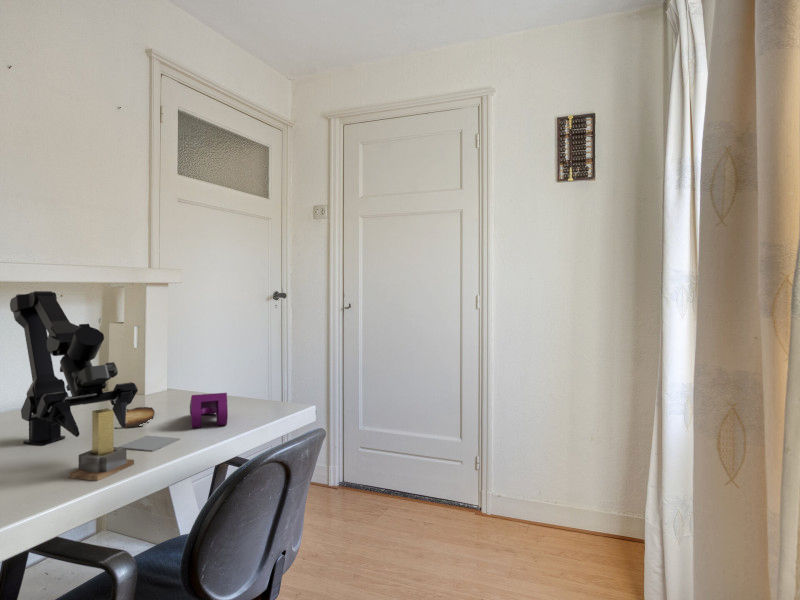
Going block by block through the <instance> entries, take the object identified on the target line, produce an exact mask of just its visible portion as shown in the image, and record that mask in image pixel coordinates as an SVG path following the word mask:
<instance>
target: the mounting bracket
mask: <svg viewBox="0 0 800 600" xmlns="http://www.w3.org/2000/svg"><path fill="white" fill-rule="evenodd" d="M215 413H216V414H215ZM228 413H229V410H228V393H227V392H218V393H204V394H192V395H191V397H190V403H189V415H190V427H191V428H190V429H199V428H200V427H202V416H205V414H209V415H216V416H215V417H216V425H217V426H218V427H219V426H220V425H221V426H227V425H228V415H229V414H228ZM200 429H201V428H200Z"/></svg>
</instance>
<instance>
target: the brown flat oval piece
mask: <svg viewBox="0 0 800 600" xmlns="http://www.w3.org/2000/svg"><path fill="white" fill-rule="evenodd" d="M154 415H155V410H154V408H153V407H152V406H151V407H148V406H141V407H140V406H139V407H133V408H131V409H130V408H129V409H128V408H126V424H125V427H123V429H125V428H127V429H129V428H141V427H142V426H139V425H140V424H143V423H146V422H147V421H148V420H150V419H153V420H154ZM150 421H151V420H150ZM143 425H144V424H143ZM114 429H117V427H116V426H115V427H114ZM120 429H122V427H121V426H120Z"/></svg>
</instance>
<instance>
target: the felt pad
mask: <svg viewBox="0 0 800 600" xmlns="http://www.w3.org/2000/svg"><path fill="white" fill-rule="evenodd" d="M180 440H181V438H178V437H169V436H157V435H144V436H142V437H140V438H137V439H134V440H132V441H129V442H127V443H125V444H121V445H119V446H118V448H123V449H125V450H132V451H133V450H135V451H142V450H143V451H144V452H152V451H153V452H155V451H158V450H160V449H163V448H164V447H167V446H169V445H171V444H173V443H175V442H178V441H180ZM159 448H160V449H159ZM157 449H158V450H157ZM143 451H142V452H143Z"/></svg>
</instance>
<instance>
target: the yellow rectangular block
mask: <svg viewBox="0 0 800 600" xmlns="http://www.w3.org/2000/svg"><path fill="white" fill-rule="evenodd" d="M91 412H92V413H91V416H92V417H91V422H92V423H91V427H92V429H91V433H92V435H91V441H92V442H91V443H92V444H91V446H92V447H91V450H92V455H98V456H105V455H107V454H110V453H112V452H113V447H114V412H113V409H110V408H101V409H96V410H92V411H91Z"/></svg>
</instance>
